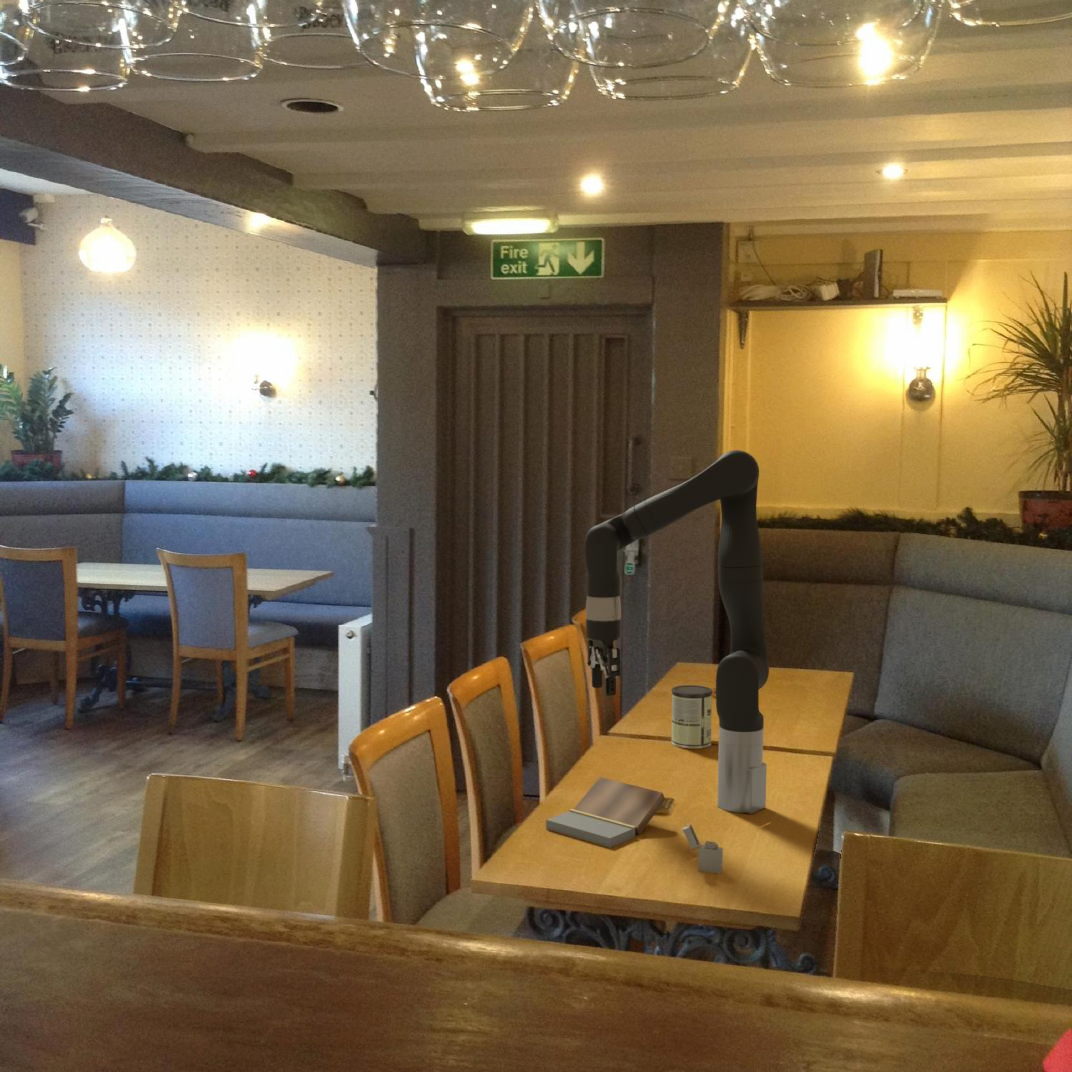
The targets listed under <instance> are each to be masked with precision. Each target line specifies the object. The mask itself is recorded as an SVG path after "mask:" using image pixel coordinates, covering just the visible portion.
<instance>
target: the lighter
mask: <svg viewBox="0 0 1072 1072" xmlns="http://www.w3.org/2000/svg"><path fill="white" fill-rule="evenodd" d="M682 832H683V834H684V837H685V838H686V840H687V843H688V845H689V847H690V849H691V850H692V851H693V850H696V849H698V852H697V853H698V855H697V856H698V857H697V859H698V861H697V871H698V872H701V873H702V872H703V873H710V874H718V875H720V874H722V872H723V855H724V854H723V853H724V851H723V850H724V848H723V847H722V846H719V844H718V843H717V842H716V841H707V840H706V841H705V842H704V844H700V842H699V839H698V836H697V834H696V832H695V830H694V828H693V826H692V824H691V823H689V824H688V825H687V824H686V825H685V826H683V828H682Z"/></svg>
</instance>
